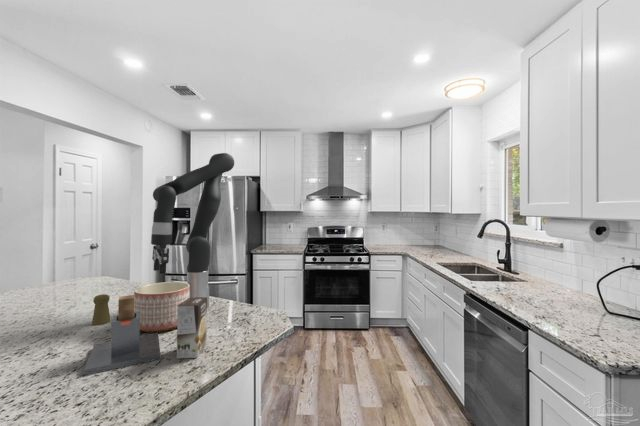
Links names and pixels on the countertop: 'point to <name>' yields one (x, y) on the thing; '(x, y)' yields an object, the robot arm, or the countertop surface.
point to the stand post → (126, 307)
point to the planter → (160, 305)
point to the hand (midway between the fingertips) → (159, 271)
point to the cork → (101, 310)
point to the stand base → (123, 347)
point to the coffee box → (191, 327)
